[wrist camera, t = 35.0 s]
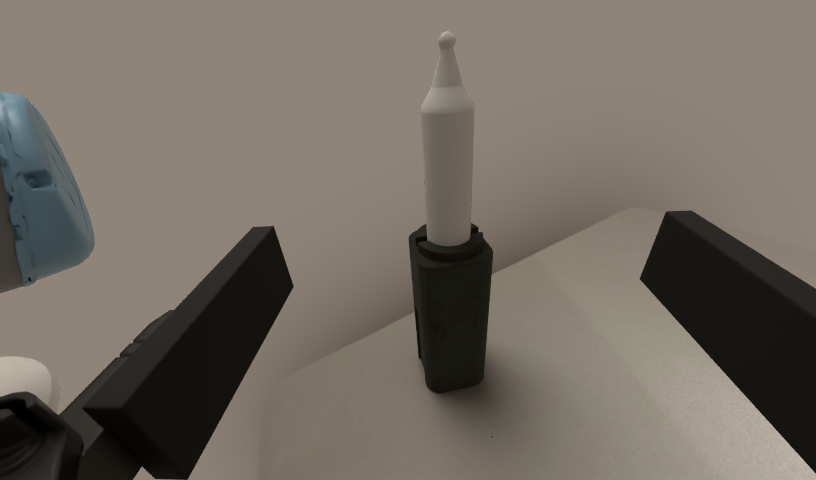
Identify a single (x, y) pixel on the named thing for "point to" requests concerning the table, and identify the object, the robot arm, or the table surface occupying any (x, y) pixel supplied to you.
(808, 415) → the robot arm
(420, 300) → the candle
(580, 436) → the table surface
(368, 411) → the table surface
